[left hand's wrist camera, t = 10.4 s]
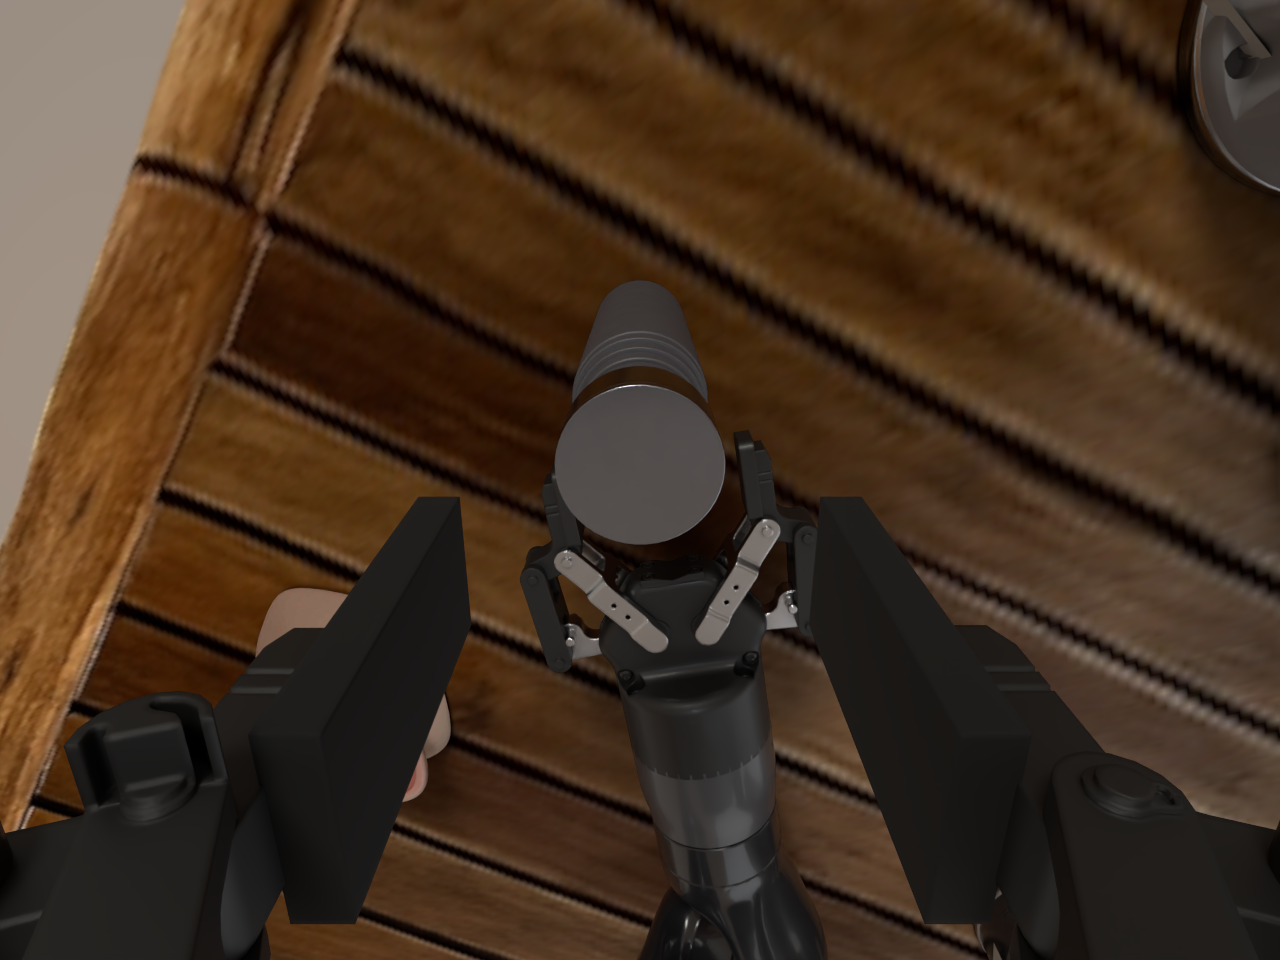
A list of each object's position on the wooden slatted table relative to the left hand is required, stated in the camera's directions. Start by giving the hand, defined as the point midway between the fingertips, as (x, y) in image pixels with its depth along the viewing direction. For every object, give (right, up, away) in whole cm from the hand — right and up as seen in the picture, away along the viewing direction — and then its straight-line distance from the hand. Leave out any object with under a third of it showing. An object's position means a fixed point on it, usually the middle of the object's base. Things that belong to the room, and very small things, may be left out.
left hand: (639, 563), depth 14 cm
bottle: (0, +10, +25) cm, 27 cm away
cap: (0, +2, +5) cm, 6 cm away
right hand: (0, +3, +21) cm, 21 cm away
